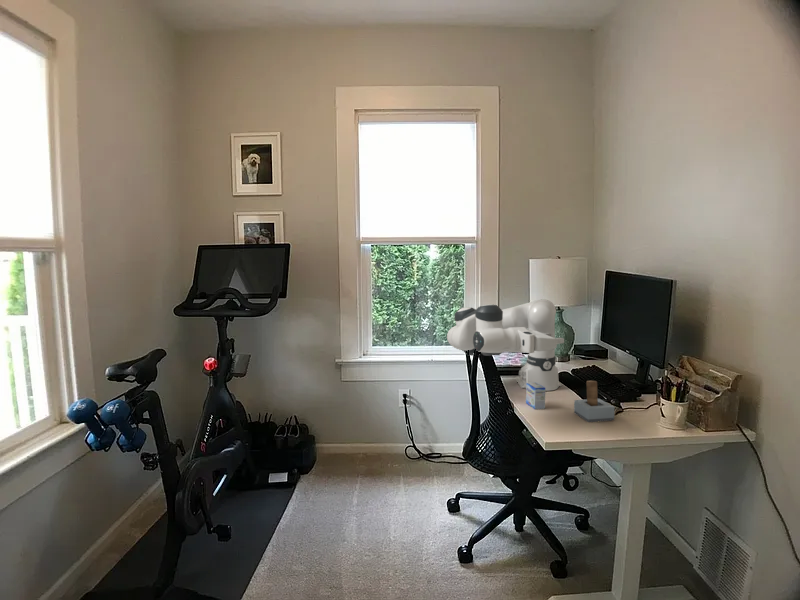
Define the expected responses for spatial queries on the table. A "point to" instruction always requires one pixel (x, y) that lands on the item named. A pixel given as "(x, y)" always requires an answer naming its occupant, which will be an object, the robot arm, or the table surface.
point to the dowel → (592, 393)
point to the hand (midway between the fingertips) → (556, 338)
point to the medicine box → (535, 395)
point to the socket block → (594, 411)
